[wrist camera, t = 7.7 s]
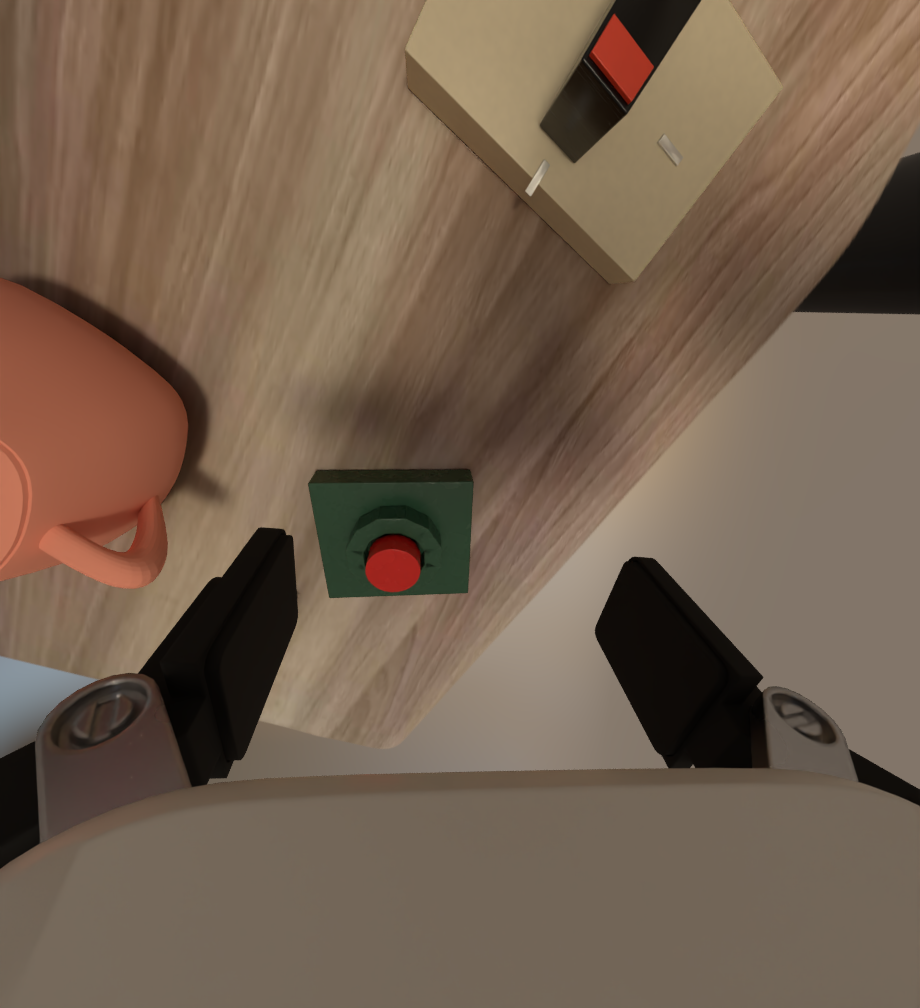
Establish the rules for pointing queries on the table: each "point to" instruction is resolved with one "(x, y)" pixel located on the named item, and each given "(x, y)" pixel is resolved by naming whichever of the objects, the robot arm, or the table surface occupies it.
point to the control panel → (625, 148)
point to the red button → (393, 563)
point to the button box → (393, 525)
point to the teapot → (81, 446)
